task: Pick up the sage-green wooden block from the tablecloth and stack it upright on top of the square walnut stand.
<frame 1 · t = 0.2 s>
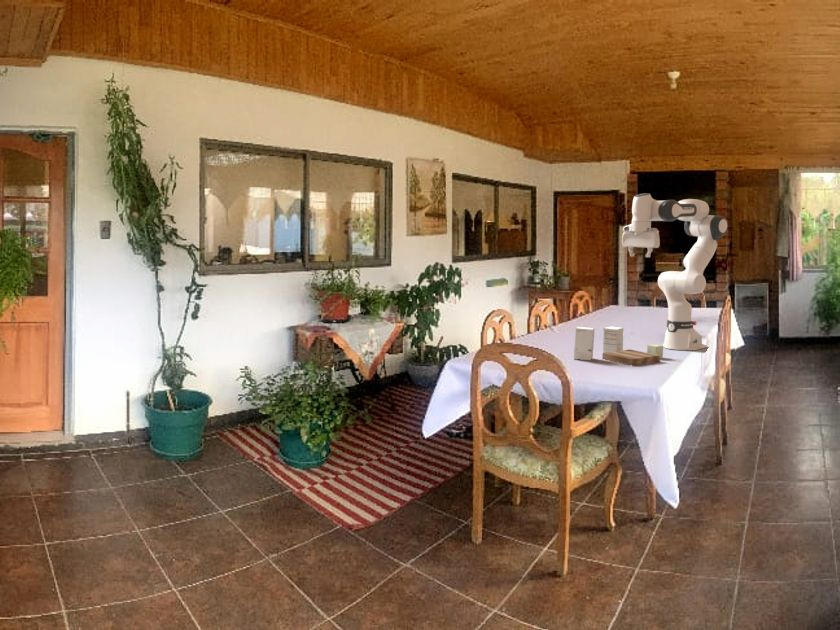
hand: (639, 256, 339), 47 cm above the table, tool pointing down, fingers open, 8 cm apart
walnut stand: (630, 360, 328), on the table
skincare box: (583, 359, 332), on the table
sage block: (654, 357, 335), on the table
supplement box: (612, 353, 347), on the table
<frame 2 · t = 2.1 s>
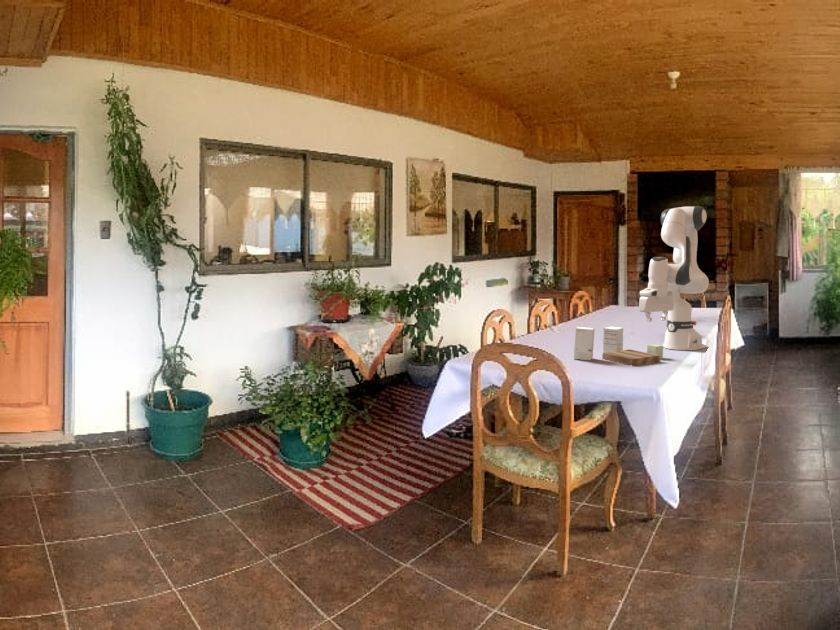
hand: (656, 321, 332), 18 cm above the table, tool pointing down, fingers open, 8 cm apart
nothing on the table moved.
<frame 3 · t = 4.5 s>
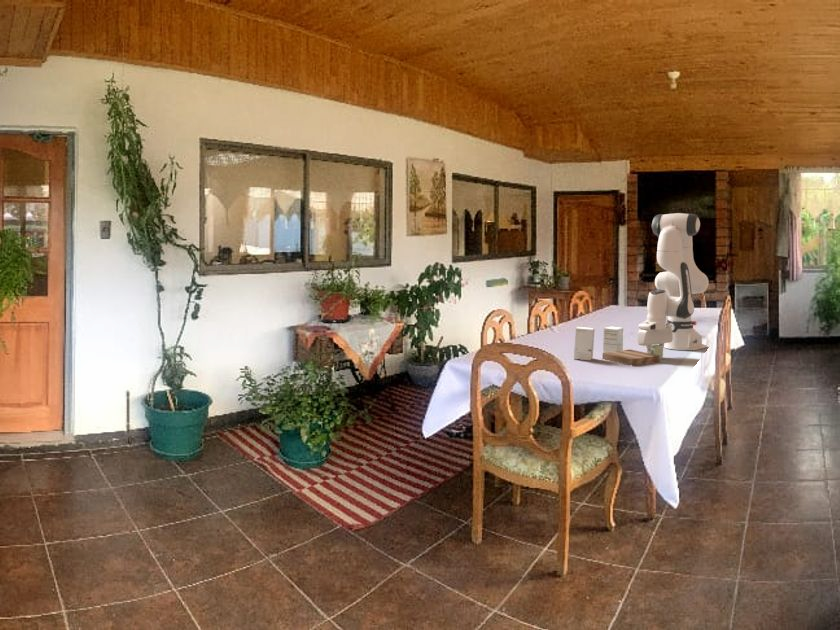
hand: (655, 353, 334), 2 cm above the table, tool pointing down, fingers closed on sage block, 5 cm apart
sage block: (654, 357, 335), on the table, touching gripper
everything else where it was.
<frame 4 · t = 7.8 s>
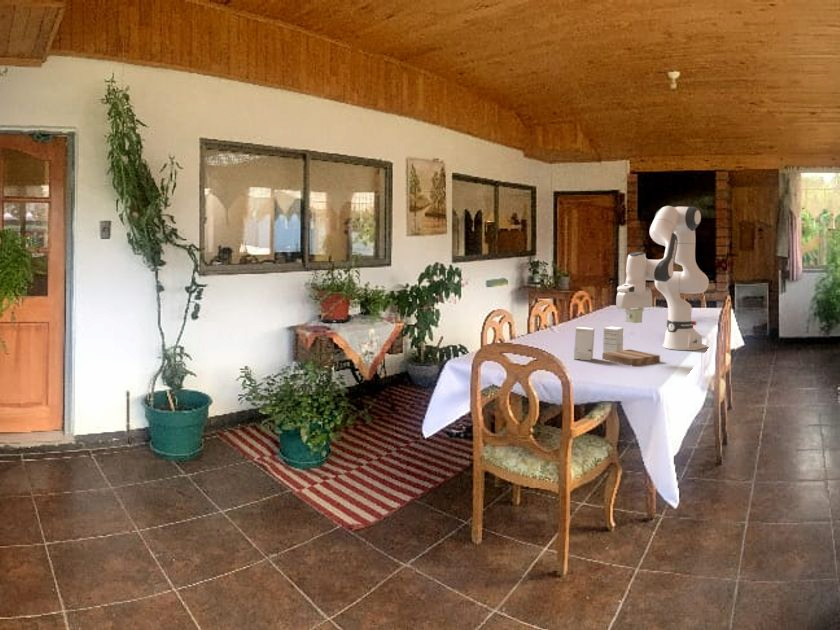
hand: (633, 317, 326), 20 cm above the table, tool pointing down, fingers closed on sage block, 5 cm apart
sage block: (633, 322, 326), point 18 cm above the table, touching gripper
everything else where it was.
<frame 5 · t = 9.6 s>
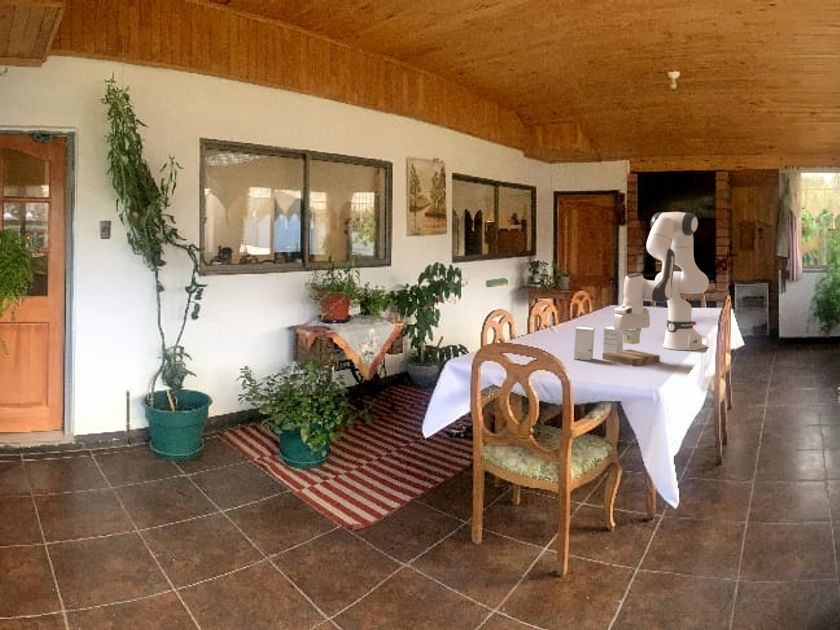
hand: (631, 338, 326), 10 cm above the table, tool pointing down, fingers closed on sage block, 5 cm apart
sage block: (631, 343, 327), point 8 cm above the table, touching gripper
everything else where it was.
when the fingers open (7 cm above the table, at t = 11.2 s): sage block drops 1 cm, resting on walnut stand.
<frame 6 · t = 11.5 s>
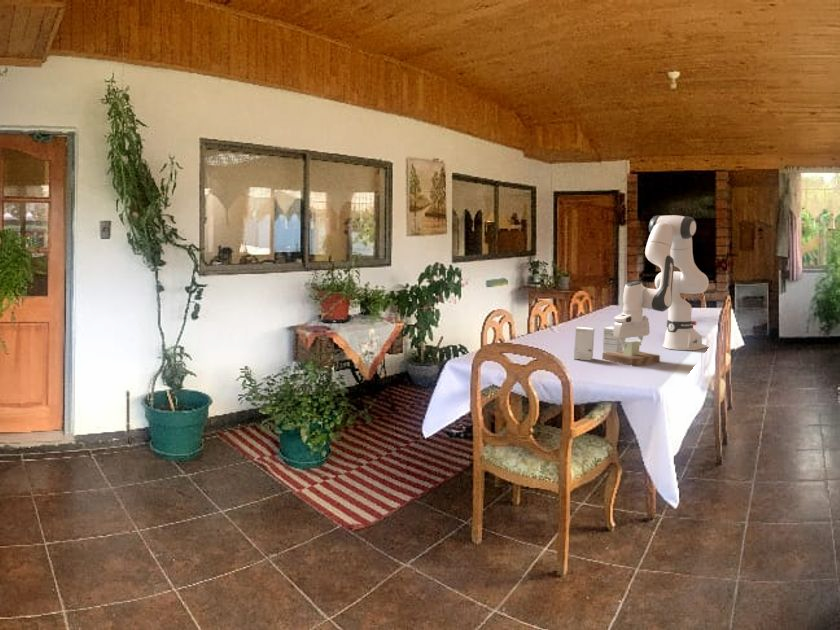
hand: (631, 346, 327), 7 cm above the table, tool pointing down, fingers open, 8 cm apart
sage block: (631, 354, 328), point 3 cm above the table, touching walnut stand
everything else where it was.
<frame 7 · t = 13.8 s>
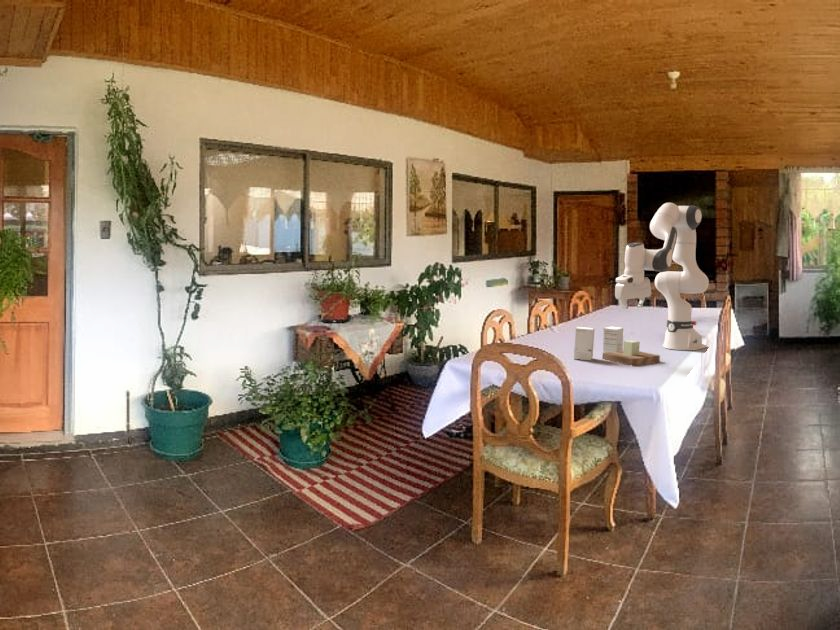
hand: (632, 308, 326), 24 cm above the table, tool pointing down, fingers open, 8 cm apart
nothing on the table moved.
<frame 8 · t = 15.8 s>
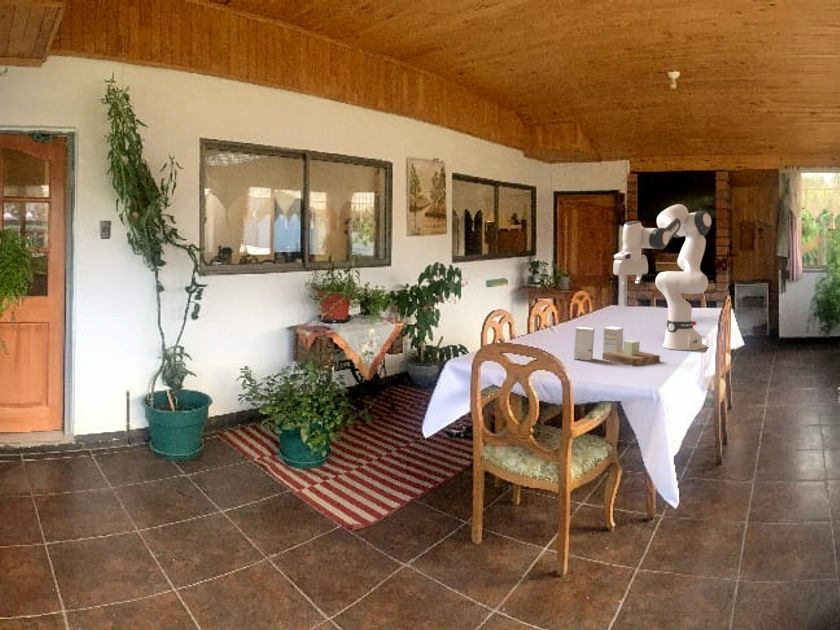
hand: (630, 284, 341), 34 cm above the table, tool pointing down, fingers open, 8 cm apart
nothing on the table moved.
at the end: sage block inside the target area on the walnut stand (0.1 cm from its centre), point 3.0 cm above the walnut stand's base; sage block tilted 0°; the gripper is holding nothing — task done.
